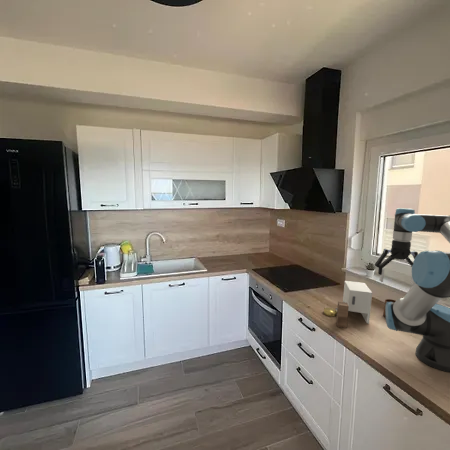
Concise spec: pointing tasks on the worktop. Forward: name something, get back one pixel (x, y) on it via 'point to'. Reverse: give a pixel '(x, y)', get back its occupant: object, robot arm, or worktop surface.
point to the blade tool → (342, 314)
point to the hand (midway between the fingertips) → (396, 282)
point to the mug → (385, 305)
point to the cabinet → (358, 298)
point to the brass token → (330, 312)
